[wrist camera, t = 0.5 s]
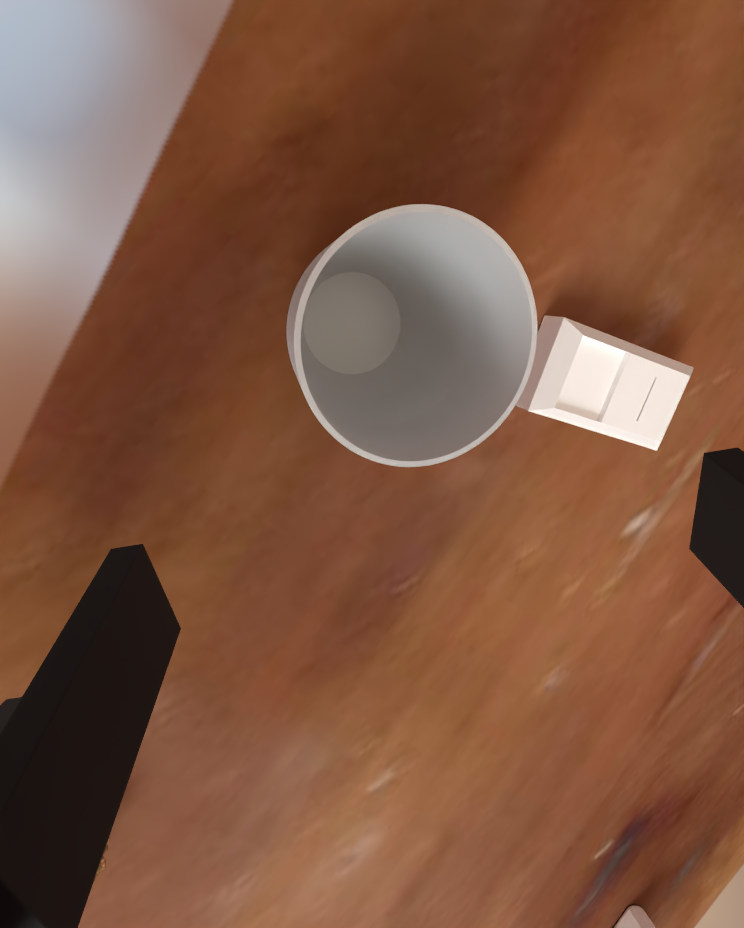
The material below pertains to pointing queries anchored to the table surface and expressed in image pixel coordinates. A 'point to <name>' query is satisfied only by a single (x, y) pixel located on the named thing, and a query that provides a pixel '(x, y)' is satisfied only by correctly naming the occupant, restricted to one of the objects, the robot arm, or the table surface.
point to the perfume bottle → (634, 919)
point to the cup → (413, 335)
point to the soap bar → (603, 383)
